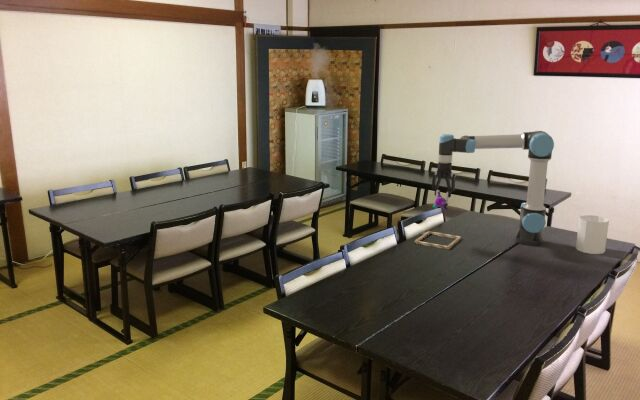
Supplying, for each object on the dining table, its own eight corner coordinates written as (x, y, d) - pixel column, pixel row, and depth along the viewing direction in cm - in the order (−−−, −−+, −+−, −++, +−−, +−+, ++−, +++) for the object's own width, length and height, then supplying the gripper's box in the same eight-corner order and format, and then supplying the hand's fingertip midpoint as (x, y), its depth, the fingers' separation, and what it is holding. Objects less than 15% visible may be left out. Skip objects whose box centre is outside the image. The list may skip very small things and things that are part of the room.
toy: (455, 209, 308) (448, 208, 295) (440, 216, 312) (432, 216, 298) (446, 191, 311) (438, 189, 298) (431, 198, 315) (423, 197, 302)
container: (597, 256, 287) (602, 223, 283) (571, 249, 298) (574, 218, 293) (608, 250, 296) (613, 218, 292) (582, 244, 307) (586, 213, 303)
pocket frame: (461, 238, 316) (461, 236, 315) (448, 249, 297) (448, 246, 297) (423, 232, 328) (423, 230, 328) (409, 242, 309) (409, 240, 309)
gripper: (463, 162, 299) (460, 202, 305) (431, 159, 309) (429, 198, 314) (458, 164, 293) (455, 205, 299) (426, 161, 303) (424, 200, 308)
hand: (442, 201), depth 307 cm, fingers closed on toy, 5 cm apart
